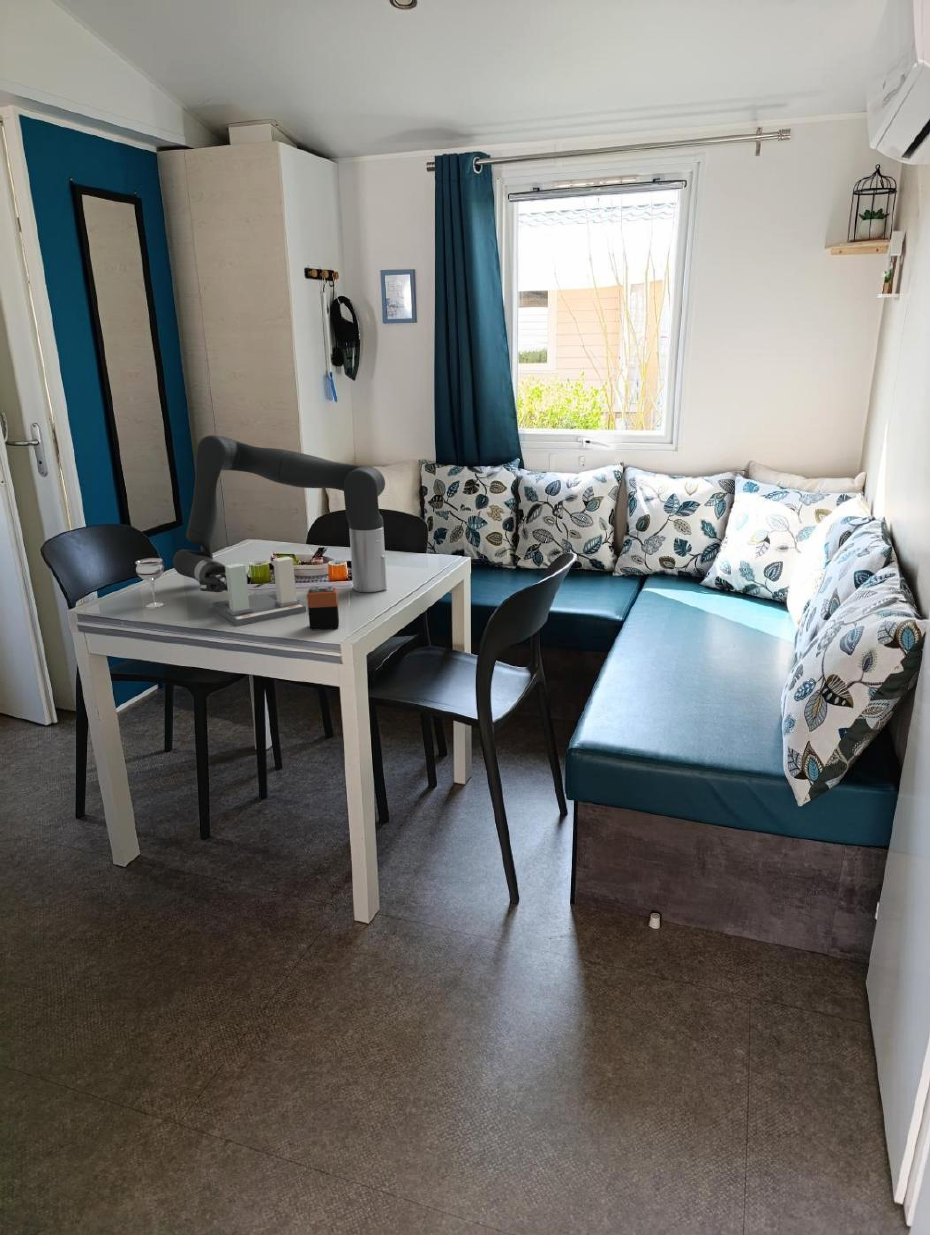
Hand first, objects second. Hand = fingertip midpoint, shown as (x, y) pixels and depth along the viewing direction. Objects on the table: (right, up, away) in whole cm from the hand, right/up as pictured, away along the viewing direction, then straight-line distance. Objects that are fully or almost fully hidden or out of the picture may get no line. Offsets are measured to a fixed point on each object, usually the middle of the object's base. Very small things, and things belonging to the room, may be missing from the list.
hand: (235, 589), depth 203 cm
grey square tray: (+4, -5, +7) cm, 9 cm away
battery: (+23, -9, -7) cm, 26 cm away
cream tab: (+11, -3, +6) cm, 13 cm away
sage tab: (+1, -5, 0) cm, 6 cm away
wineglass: (-25, -4, +12) cm, 28 cm away
